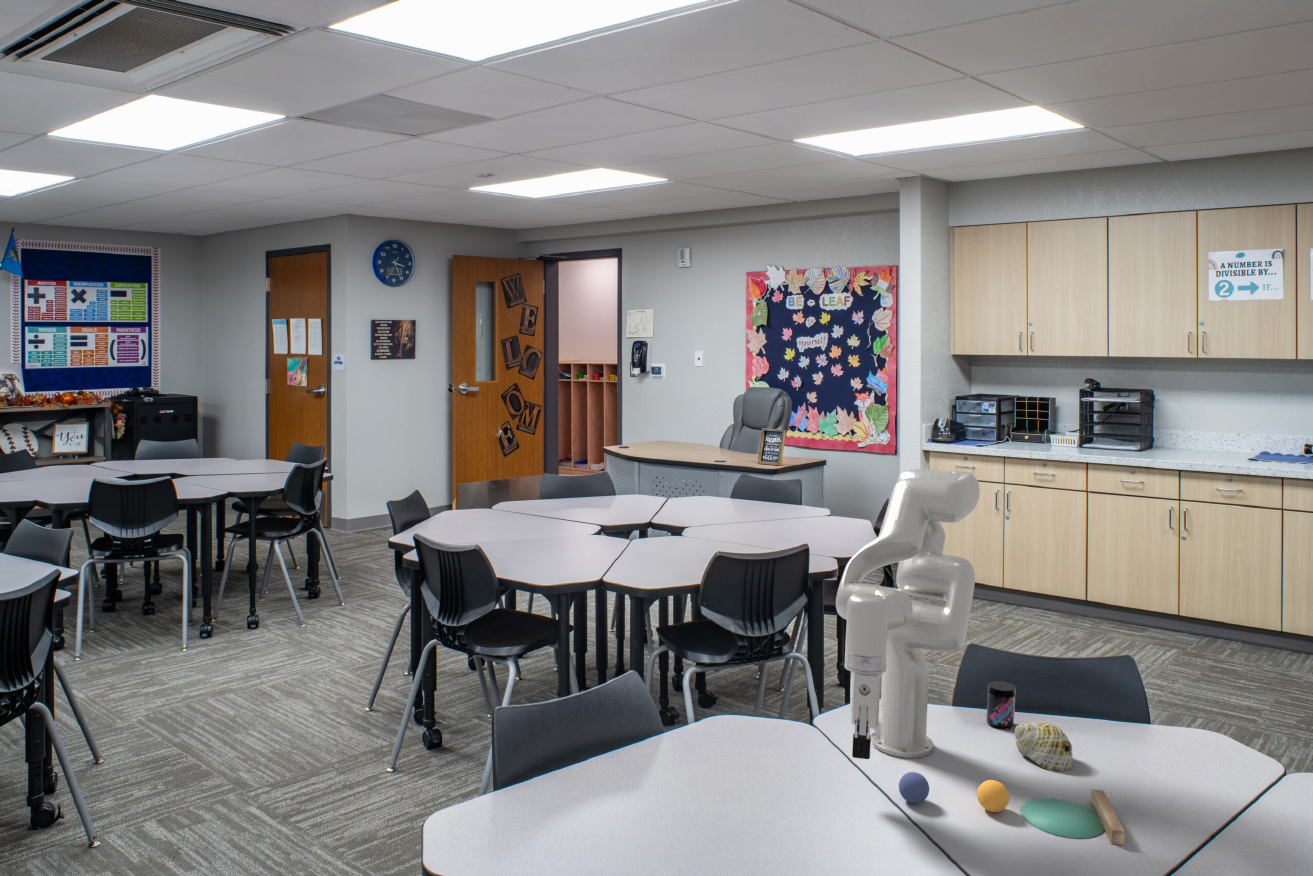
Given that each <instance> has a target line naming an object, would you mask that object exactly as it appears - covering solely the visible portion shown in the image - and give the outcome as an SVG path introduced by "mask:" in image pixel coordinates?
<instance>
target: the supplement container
mask: <svg viewBox="0 0 1313 876" xmlns="http://www.w3.org/2000/svg"><path fill="white" fill-rule="evenodd" d="M1016 689H1017V687H1016V686H1015V685H1014V684H1012V683H1010V682H1007V681H999V680H998V681H996V680H994V681H990V682H988V683H987V703H986V704H987V705H986V722H987V724H988V726H990V727H992V728H993V729H998V730H1010V729H1011V728H1013V727H1014V725H1015V707H1016V695H1017V694H1016V691H1017V690H1016Z"/></svg>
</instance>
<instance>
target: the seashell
mask: <svg viewBox="0 0 1313 876" xmlns="http://www.w3.org/2000/svg"><path fill="white" fill-rule="evenodd" d="M1014 738H1015V745H1016V749H1017V751H1018V752H1019V753H1020V754H1021V755H1022V756H1024V757H1027V758H1029V759H1030V760H1031V761H1032V762H1034V763H1036V764H1037V765H1038V766H1040V767H1041V768H1043V769H1046V770H1048V771H1053V772H1055V771H1059V772H1065V771H1068V770H1070V769H1071V768H1072V765H1073V762H1074V761H1073V760H1074V758H1073V745H1072V742H1071V741H1070V740H1069V737H1068V736H1067V735H1066V734H1065V732H1064V731H1063V730H1062V729H1061V728H1060V727H1058V726H1057V725H1054V724H1052V723H1049V722H1045V721H1044V722H1043V721H1041V722H1040V721H1037V722H1031V723H1030V722H1025V723H1020V724H1018V725H1016V726H1015V728H1014Z"/></svg>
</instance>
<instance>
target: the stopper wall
mask: <svg viewBox="0 0 1313 876" xmlns="http://www.w3.org/2000/svg"><path fill="white" fill-rule="evenodd" d="M1090 793H1091V797H1090V798H1091V799H1090V803H1091V805H1092V808H1093V809H1094V812H1095V813H1097V814H1098V816H1099V818H1100V821H1101V823H1102V825H1103V827H1104V832H1105V834H1106V836H1107V838H1108V840H1109V842H1110V844H1111V845H1118V846H1119V845H1120V846H1125V837H1126V836H1125V833H1126V832H1125V829H1124V827H1123V825H1122V823H1121V821H1120V820H1119V817H1118V816H1117V814H1116V812H1115V810H1114V809H1113V807H1112V805H1111V803H1110V801H1109V799H1108V797H1107V795H1106V793H1105V791H1104V790H1102V789H1101V790H1100V789H1091V792H1090Z"/></svg>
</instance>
